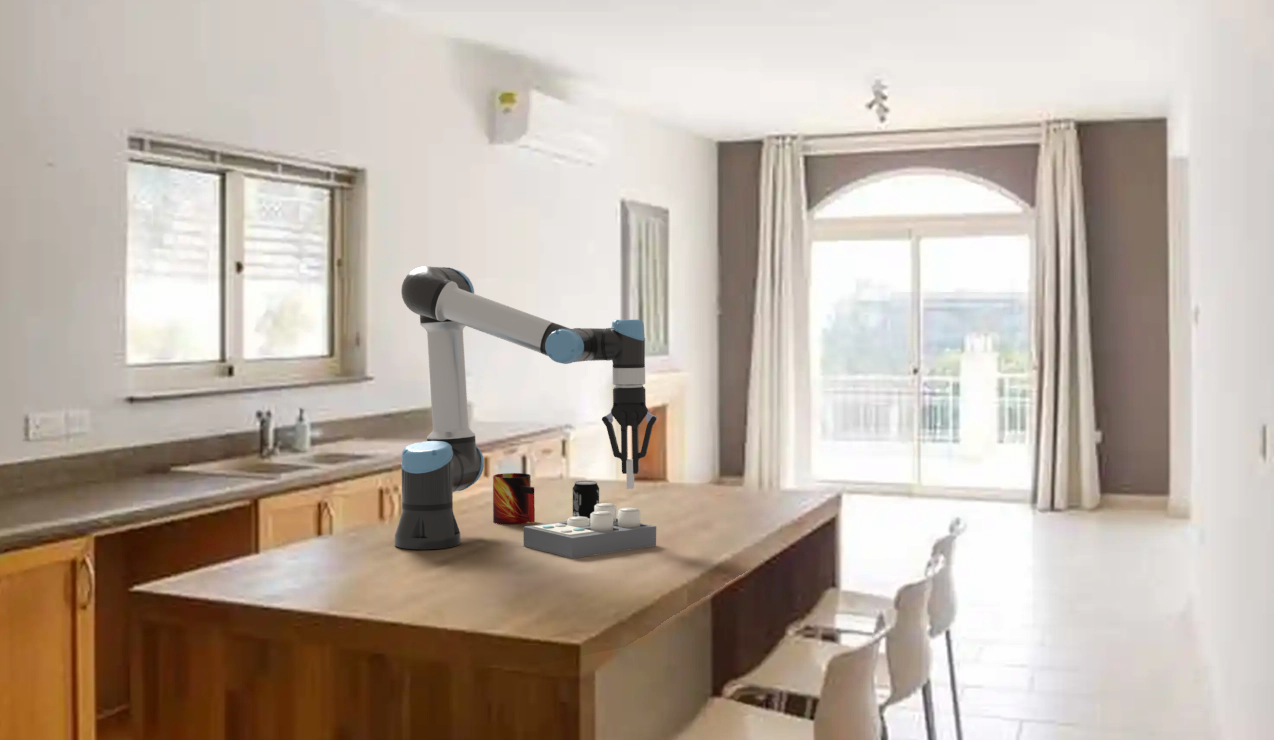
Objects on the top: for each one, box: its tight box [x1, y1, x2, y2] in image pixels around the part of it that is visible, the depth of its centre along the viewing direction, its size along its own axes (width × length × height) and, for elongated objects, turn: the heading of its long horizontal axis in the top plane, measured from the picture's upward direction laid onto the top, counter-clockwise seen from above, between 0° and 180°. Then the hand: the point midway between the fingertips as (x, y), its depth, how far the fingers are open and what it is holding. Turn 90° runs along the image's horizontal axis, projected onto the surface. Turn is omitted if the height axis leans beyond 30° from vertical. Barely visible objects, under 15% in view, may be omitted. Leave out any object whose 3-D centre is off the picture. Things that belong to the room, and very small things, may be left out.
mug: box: [492, 472, 536, 526], centre depth 327 cm, size 10×14×12 cm
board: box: [523, 517, 657, 559], centre depth 294 cm, size 24×19×5 cm
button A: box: [566, 516, 589, 527], centre depth 297 cm, size 5×5×5 cm
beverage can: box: [572, 480, 600, 518], centre depth 315 cm, size 7×7×12 cm
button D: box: [617, 507, 641, 529], centre depth 295 cm, size 5×5×5 cm
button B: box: [594, 502, 617, 522], centre depth 302 cm, size 5×5×5 cm
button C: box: [590, 511, 613, 532], centre depth 290 cm, size 5×5×5 cm
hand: (630, 487), depth 295 cm, fingers closed
